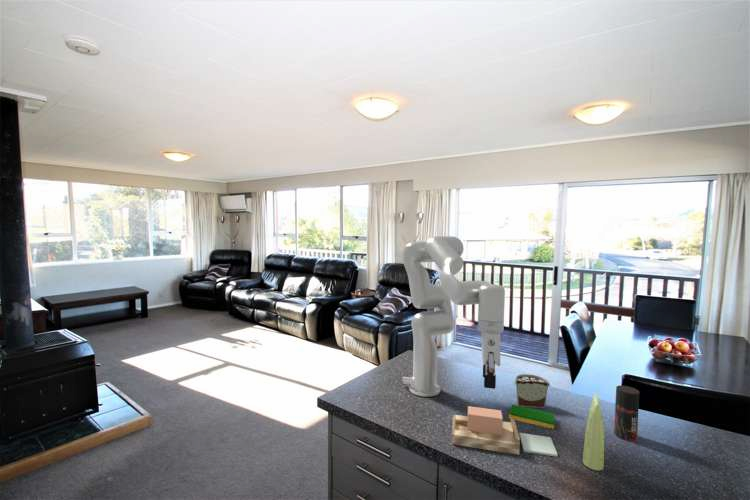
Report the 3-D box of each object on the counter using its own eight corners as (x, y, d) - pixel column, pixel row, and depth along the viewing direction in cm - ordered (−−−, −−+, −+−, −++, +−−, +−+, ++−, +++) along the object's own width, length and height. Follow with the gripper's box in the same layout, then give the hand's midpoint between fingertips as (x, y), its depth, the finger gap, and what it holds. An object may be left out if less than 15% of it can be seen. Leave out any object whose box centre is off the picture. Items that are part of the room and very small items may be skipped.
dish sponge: (511, 410, 128) (511, 404, 128) (554, 420, 121) (554, 413, 121) (508, 419, 121) (508, 412, 121) (553, 430, 115) (554, 423, 115)
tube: (610, 471, 95) (613, 400, 94) (594, 474, 94) (598, 401, 93) (593, 458, 100) (596, 390, 99) (577, 460, 99) (580, 392, 98)
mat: (523, 451, 103) (523, 449, 103) (519, 434, 112) (519, 432, 112) (557, 456, 101) (557, 454, 101) (550, 439, 109) (550, 437, 109)
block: (468, 414, 108) (502, 418, 105) (467, 406, 113) (501, 410, 110) (467, 430, 108) (502, 435, 105) (467, 421, 113) (500, 426, 110)
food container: (542, 400, 135) (543, 374, 135) (548, 408, 129) (550, 381, 129) (509, 398, 136) (510, 372, 136) (514, 406, 130) (515, 379, 130)
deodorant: (630, 443, 108) (633, 395, 107) (610, 433, 113) (612, 387, 112) (640, 438, 110) (643, 391, 110) (620, 429, 116) (622, 384, 115)
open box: (451, 444, 106) (451, 429, 106) (453, 423, 118) (453, 410, 117) (519, 454, 101) (519, 439, 101) (513, 432, 113) (514, 418, 113)
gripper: (506, 334, 98) (504, 396, 99) (500, 319, 115) (499, 373, 116) (478, 331, 100) (476, 393, 101) (476, 317, 117) (475, 370, 118)
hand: (488, 382), depth 108 cm, fingers open, 7 cm apart
